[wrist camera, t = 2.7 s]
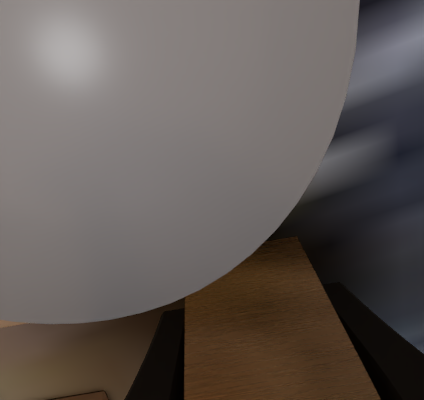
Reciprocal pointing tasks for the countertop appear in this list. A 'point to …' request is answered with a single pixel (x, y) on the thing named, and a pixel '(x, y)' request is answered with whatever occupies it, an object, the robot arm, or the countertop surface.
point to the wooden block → (270, 334)
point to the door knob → (155, 143)
